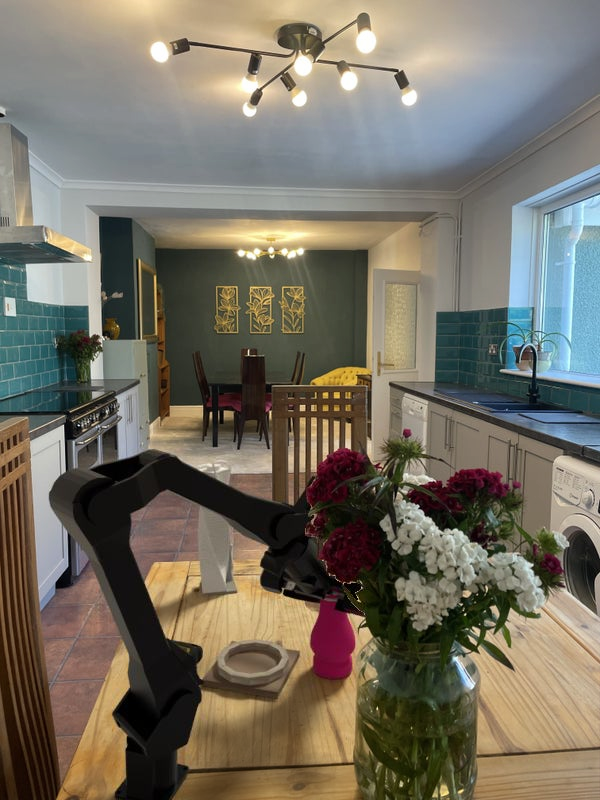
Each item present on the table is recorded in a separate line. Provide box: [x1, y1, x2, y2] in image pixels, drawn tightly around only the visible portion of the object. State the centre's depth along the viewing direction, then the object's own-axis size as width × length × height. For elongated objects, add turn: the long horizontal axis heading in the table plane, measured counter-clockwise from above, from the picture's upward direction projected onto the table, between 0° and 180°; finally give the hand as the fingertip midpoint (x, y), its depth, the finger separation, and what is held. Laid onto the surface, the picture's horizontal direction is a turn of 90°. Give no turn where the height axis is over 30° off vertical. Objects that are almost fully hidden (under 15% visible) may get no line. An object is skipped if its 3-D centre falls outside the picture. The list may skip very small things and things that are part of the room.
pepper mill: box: [309, 589, 357, 680], centre depth 94 cm, size 7×7×20 cm
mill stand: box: [201, 638, 301, 700], centre depth 94 cm, size 12×12×2 cm
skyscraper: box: [195, 459, 238, 597], centre depth 123 cm, size 8×8×28 cm
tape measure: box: [171, 639, 204, 666], centre depth 94 cm, size 7×7×4 cm
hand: (337, 604), depth 95 cm, fingers closed on pepper mill, 5 cm apart
